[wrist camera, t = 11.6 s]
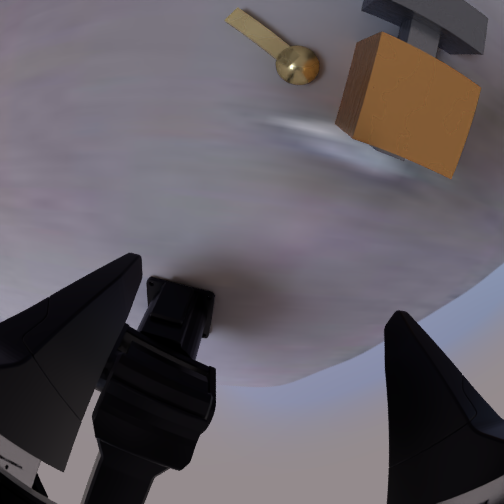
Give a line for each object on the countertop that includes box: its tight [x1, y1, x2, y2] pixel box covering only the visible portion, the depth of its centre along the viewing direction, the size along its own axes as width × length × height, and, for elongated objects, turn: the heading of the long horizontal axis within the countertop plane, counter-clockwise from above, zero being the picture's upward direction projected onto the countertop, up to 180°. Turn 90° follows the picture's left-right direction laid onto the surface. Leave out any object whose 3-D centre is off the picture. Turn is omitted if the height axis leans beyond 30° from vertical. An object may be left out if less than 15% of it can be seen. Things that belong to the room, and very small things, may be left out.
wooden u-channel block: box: [335, 32, 481, 179], centre depth 13 cm, size 6×6×5 cm
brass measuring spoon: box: [224, 8, 319, 85], centre depth 14 cm, size 7×3×1 cm, turn 49°
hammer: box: [361, 0, 488, 161], centre depth 12 cm, size 12×7×4 cm, turn 169°
